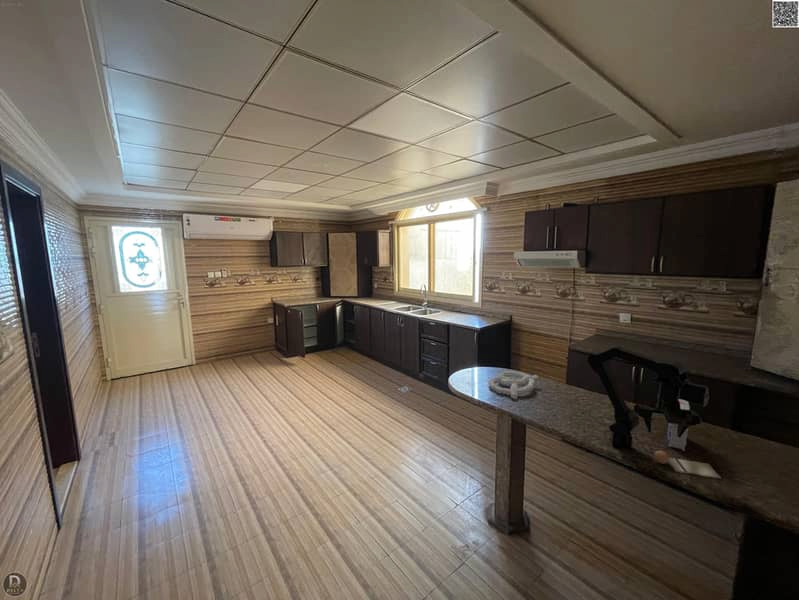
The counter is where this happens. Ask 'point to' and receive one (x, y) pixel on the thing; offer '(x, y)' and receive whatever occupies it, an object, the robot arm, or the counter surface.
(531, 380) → the pretzel
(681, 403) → the candy box
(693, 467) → the board
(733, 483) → the counter surface
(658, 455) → the ball
